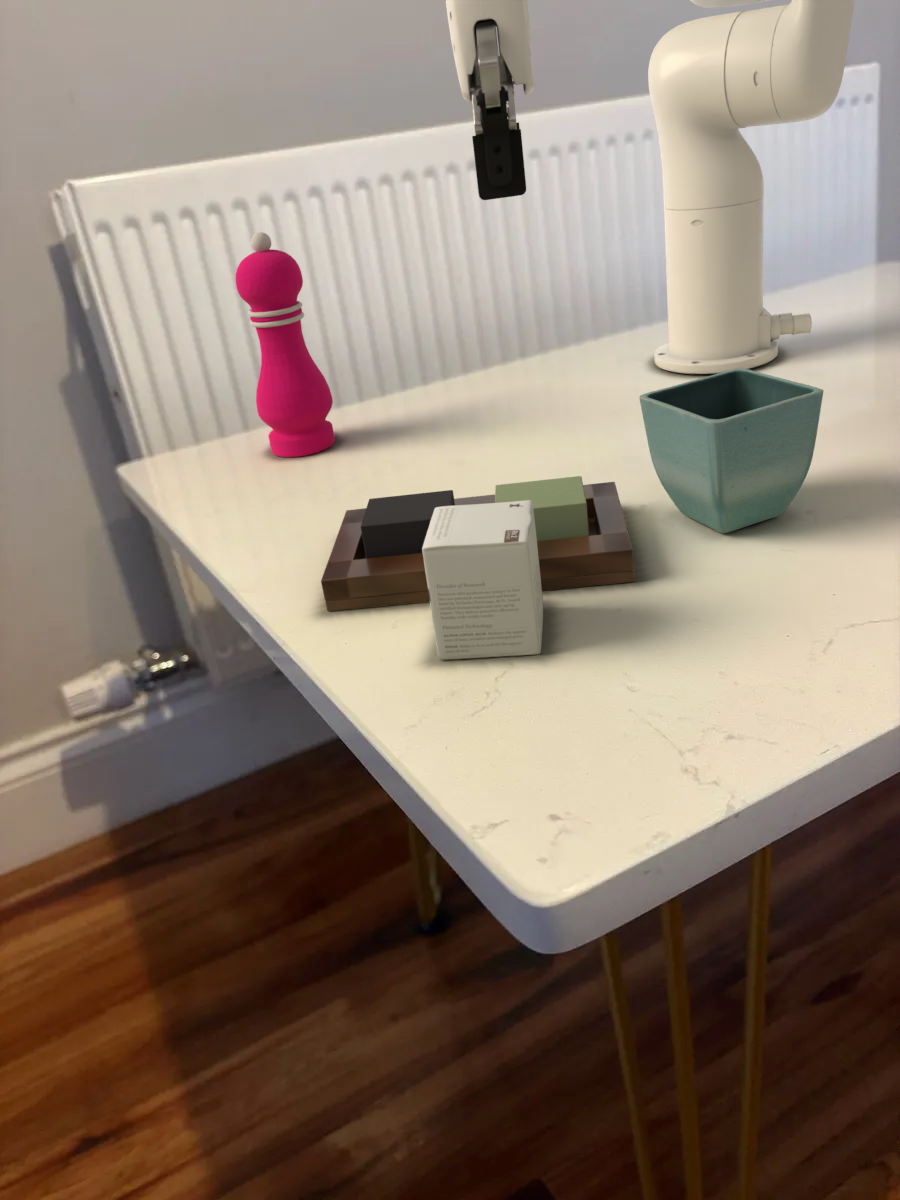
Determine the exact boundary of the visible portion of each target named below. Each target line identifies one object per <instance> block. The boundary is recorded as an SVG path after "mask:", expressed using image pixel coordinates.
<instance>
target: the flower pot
mask: <svg viewBox="0 0 900 1200" xmlns="http://www.w3.org/2000/svg"><path fill="white" fill-rule="evenodd" d="M823 397H824V389H822V388H819V387H816V386H813V385H809V384H805V383H802V382H797V381H792V380H790V379H785V378H782V377H778V376H774V375H770V374H765V373H763V372H760V371H756V370H752V369H742V368H738V369H733V370H730V371H726V372H722V373H716V374H710V375H708V376H703V377H700V378H697V379H694V380H690V381H686V382H682V383H679V384H675V385H671V386H668V387H664V388H660V389H657V390H653V391H650V392H646V393H643V394H641V395H639V396H638V399H639V403H640V409H641V415H642V418H643V424H644V430H645V434H646V440H647V445H648V451H649V455H650V458H651V462H652V465H653V468H654V470H655V472H656V476H657V478H658V480H659V481H660V483H661V485H662V487H663V489H664V491H665V492H666V494H667V495H668V497H669V498H670V500H671V502H673V504H674V505H675V506H676V508H677V509H678V510H679V512H680V513H681V514H682V515H683V516H686V517H688V518H690V519H692V520H694V521H697V522H699V523H700V524H702V525H705V526H706V527H708V528H710V529H712V530H713V531H716V532H718V533H722V534H727V533H730V532H734V531H737V530H740V529H742V528H743V529H744V528H746V527H748V526H751V525H754V524H758V523H761V522H763V521H766V520H770V519H773V518H776V517H779V516H781V515H782V514H783V513H784V512H785V511H786V510H787V509H788V507H789V506H790V504H791V503H792V502H793V500H794V499H795V497H796V496H797V494H798V492H799V491H800V490H801V488H802V486H803V484H804V482H805V480H806V477H807V475H808V473H809V471H810V467H811V464H812V461H813V457H814V453H815V452H814V451H815V447H816V442H817V441H816V440H817V436H818V430H819V429H818V428H819V423H820V417H821V410H822V403H823Z"/></svg>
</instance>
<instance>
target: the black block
mask: <svg viewBox="0 0 900 1200" xmlns="http://www.w3.org/2000/svg"><path fill="white" fill-rule="evenodd" d="M454 499H455V496H454V490H453V489H448V490H439V491H438V490H437V491H429V492H428V491H427V492H421V493H420V492H419V493H410V494H402V495H394V496H393V495H391V496H383V497H375V498H374V497H373V498H369V499H368V501H367V505H366V507H365V508H366V511H365V514H364V518H363V521H362V524H361V532H362V537H363V543H364V548H365V553H366V559H368V558H378V557H388V556H397V555H407V554H417V553H422V547H423V544H424V540H425V537H426V534H427V531H428V528H429V524H430V521H431V518H432V515H433V512H434V509H435V508H436V507H442V506H454V505H455V502H454Z"/></svg>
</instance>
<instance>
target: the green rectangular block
mask: <svg viewBox="0 0 900 1200" xmlns="http://www.w3.org/2000/svg"><path fill="white" fill-rule="evenodd" d="M583 485H584V481H583V478H582V475H578V476H577V475H576V476H567V477H557V478H549V479H540V480H530V481H529V480H528V481H520V482H511V483H503V484H496V485H495V488H494V491H495V493H494V494H495V503H501V502H514V501H525V500H531V501H532V502H533V510H534V519H535V528H536V537H537V541H545V540H554V539H564V538H574V537H584V536H589V529H588V516H587V503H586V498H585V493H584V487H583Z"/></svg>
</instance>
